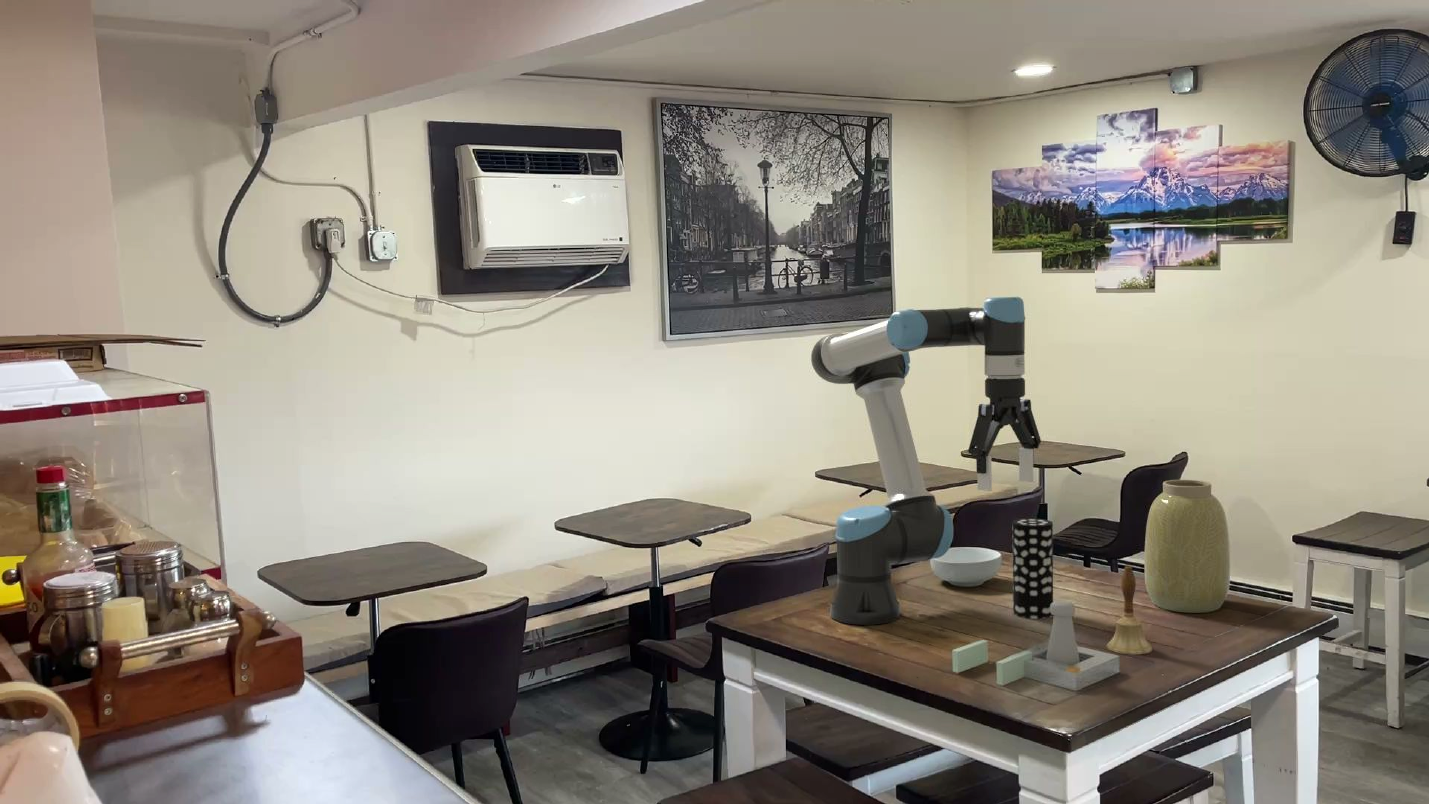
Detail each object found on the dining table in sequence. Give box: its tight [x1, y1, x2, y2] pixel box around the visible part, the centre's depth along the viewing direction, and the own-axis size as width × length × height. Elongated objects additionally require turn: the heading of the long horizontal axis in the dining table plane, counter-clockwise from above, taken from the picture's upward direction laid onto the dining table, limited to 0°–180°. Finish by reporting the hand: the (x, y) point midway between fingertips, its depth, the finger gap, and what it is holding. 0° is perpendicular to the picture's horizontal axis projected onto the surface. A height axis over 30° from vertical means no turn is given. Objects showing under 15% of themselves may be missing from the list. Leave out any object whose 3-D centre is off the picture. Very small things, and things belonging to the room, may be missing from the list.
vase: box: [1143, 479, 1231, 614], centre depth 243 cm, size 17×17×27 cm
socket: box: [1007, 640, 1120, 692], centre depth 203 cm, size 14×14×4 cm
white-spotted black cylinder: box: [1011, 518, 1054, 620], centre depth 241 cm, size 8×8×20 cm
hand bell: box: [1106, 566, 1153, 656], centre depth 215 cm, size 8×8×16 cm
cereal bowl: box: [929, 546, 1002, 588], centre depth 270 cm, size 17×17×7 cm
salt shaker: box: [1046, 600, 1080, 666], centre depth 203 cm, size 6×6×13 cm
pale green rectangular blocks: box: [951, 639, 1032, 686], centre depth 204 cm, size 11×9×4 cm
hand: (1005, 485), depth 218 cm, fingers open, 13 cm apart
